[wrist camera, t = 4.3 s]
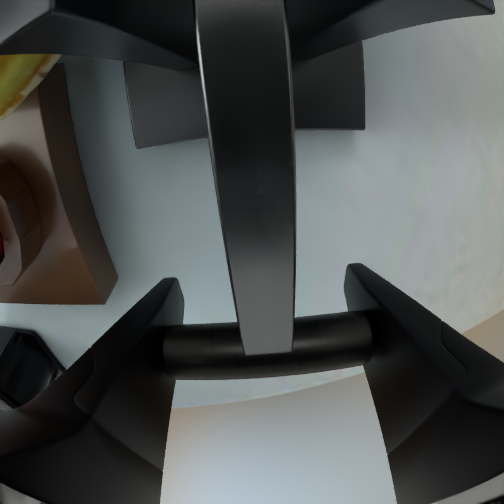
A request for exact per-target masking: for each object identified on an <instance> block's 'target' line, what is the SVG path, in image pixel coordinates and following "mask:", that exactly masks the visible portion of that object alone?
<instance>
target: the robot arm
mask: <svg viewBox="0 0 504 504" xmlns="http://www.w3.org/2000/svg"><path fill="white" fill-rule="evenodd" d="M344 293H345V298H346V302H347V307H348V311H355V310H362V311H365V312H366V313H367V315H368V317H369V319H370V321H371V325H372V329H373V335H374V350H373V356H372V359H371V361H370V362H369V363H367V364H366V365H363V367H364V370H365V373H366V377H367V380H368V383H369V387H370V390H371V394H372V397H373V401H374V404H375V408H376V412H377V415H378V419H379V423H380V427H381V431H382V435H383V439H384V443H385V447H386V451H387V454H388V455H387V456H388V461H389V465H390V470H391V474H392V479H393V485H394V490H395V495H396V500H397V504H431V503H435V502H437V504H504V363H503V362H502V361H500V360H499V359H497V358H496V357H494V356H493V355H491V354H490V353H488V352H487V351H485V350H484V349H482V348H481V347H479V346H477V345H476V344H474V343H473V342H472V341H470V340H469V339H467V338H466V337H464V336H463V335H461V334H460V333H459V332H457V331H456V330H455V329H453V328H452V327H451V326H449V325H448V324H447V323H445V322H444V321H442V320H441V319H440V318H438V317H437V316H436V315H434V314H433V313H432V312H430V311H429V310H427V309H426V308H425V307H423V306H422V305H421V304H419V303H418V302H416V301H415V300H414V299H412V298H411V297H409V296H408V295H407V294H405V293H404V292H402V291H401V290H400V289H398V288H397V287H395V286H394V285H392V284H391V283H389V282H388V281H387V280H385V279H384V278H382V277H381V276H379V275H378V274H376V273H375V272H373V271H372V270H370V269H369V268H368V267H366V266H365V265H363V264H361V263H352V264H348V265H347V268H346V274H345V282H344ZM183 316H184V297H183V294H182V291H181V287H180V284H179V281H178V279H177V278H176V277H171V278H164V279H162V280H161V281H160V282H159V283H158V284H157V285H156V286H154V287H153V288H152V289H151V290H150V291H149V292H148V293H147V294H146V295H145V296H144V297H143V298H141V299H140V300H139V301H138V302H137V303H136V304H135V305H134V306H133V307H132V308H131V309H130V310H129V311H128V312H126V313H125V314H124V315H123V316H122V317H121V318H120V319H119V320H118V321H117V322H116V323H115V324H114V325H113V326H112V327H111V328H110V329H109V330H108V331H107V332H105V333H104V334H103V335H102V336H101V337H100V338H99V339H98V340H97V341H96V342H95V343H94V344H93V345H92V346H91V348H89V349H88V350H87V351H86V352H85V353H84V354H83V355H82V356H81V357H80V358H79V359H78V360H77V361H76V362H75V363H73V364H72V365H71V366H70V367H69V368H68V369H67V370H66V371H65V370H64V369H63V368H62V367H61V365H60V364H59V363H58V362H57V360H56V359H55V358H54V357H53V355H52V354H51V353H50V351H49V350H48V349H47V347H46V346H45V345H44V343H43V342H42V340H41V339H40V338H39V336H38V335H37V334H36V333H35V332H34V331H30V330H22V329H15V328H8V327H1V326H0V408H1V409H2V410H1V409H0V504H160V496H161V485H162V475H163V471H162V470H163V466H164V458H165V449H166V442H167V433H168V427H169V420H170V413H171V407H172V400H173V394H174V388H175V382H176V380H174V379H171V378H169V377H168V376H167V374H166V373H165V370H164V367H163V363H162V356H161V343H162V336H163V333H164V330H165V328H166V327H167V326H169V325H182V324H183ZM56 378H57V379H56ZM55 379H56V380H55Z"/></svg>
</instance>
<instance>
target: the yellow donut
mask: <svg viewBox="0 0 504 504" xmlns="http://www.w3.org/2000/svg"><path fill="white" fill-rule="evenodd" d="M61 56H62V54H17V55H1V56H0V122H1V121H2V120H3V119H5V118H6V117H7V116H9V115H10V114H11V113H13V111H14V110H15V109H17V108H18V107H19V106H20V105H21V103H22V102H23V101H24V100H25V98H26V97H27V96H28V95H29V93H30V92H31V91H32V90H33V89H35V88H36V87H37V86H38V85H39V83H40V82H41V81H42V80H43V79H44V78H45V77H46V75H47V74H48V73H49V71H50V70H51V68H52V67H53V66H54V64H55V63H56V62H57V61H58V60H59V59H60V57H61Z"/></svg>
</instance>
